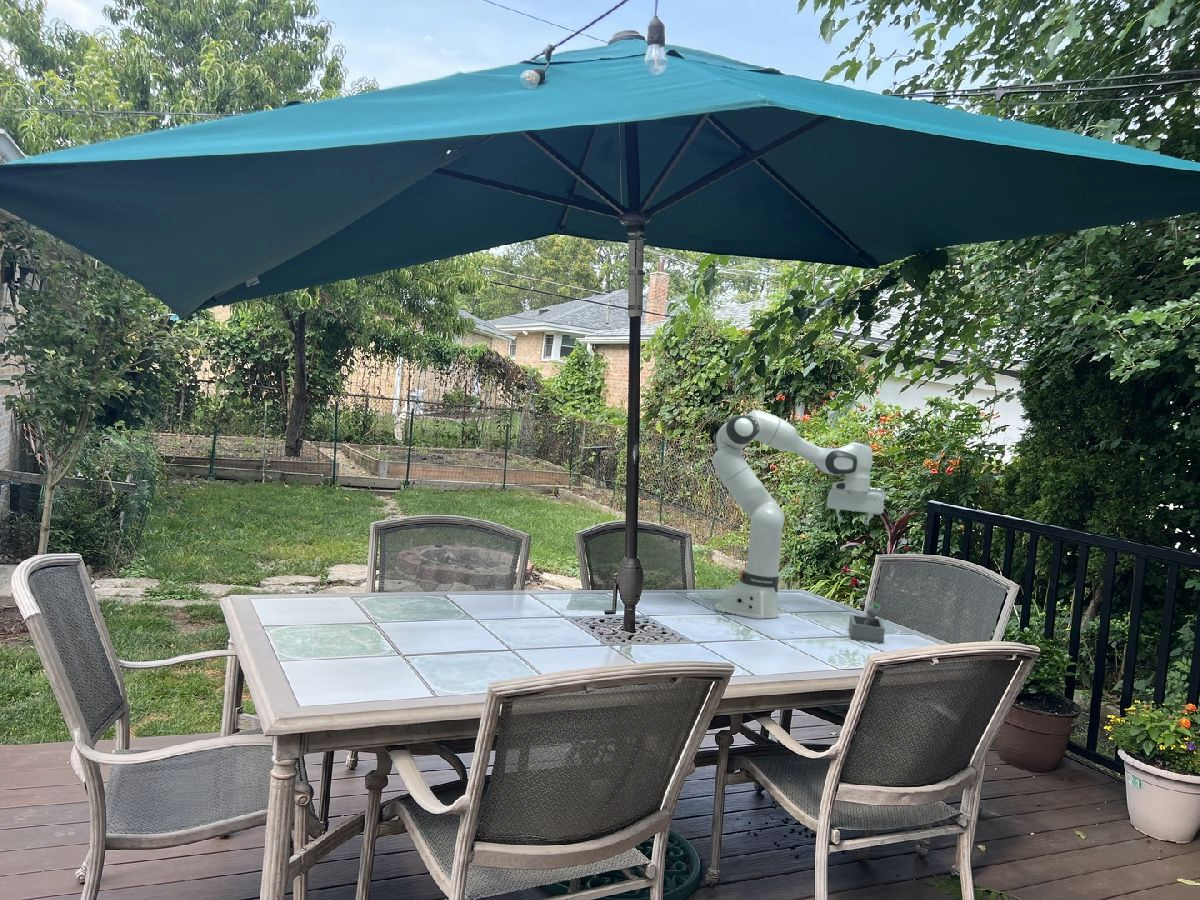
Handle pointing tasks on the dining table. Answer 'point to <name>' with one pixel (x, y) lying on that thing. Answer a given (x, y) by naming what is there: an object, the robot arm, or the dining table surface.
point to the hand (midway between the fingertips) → (852, 523)
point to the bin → (866, 629)
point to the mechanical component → (872, 613)
